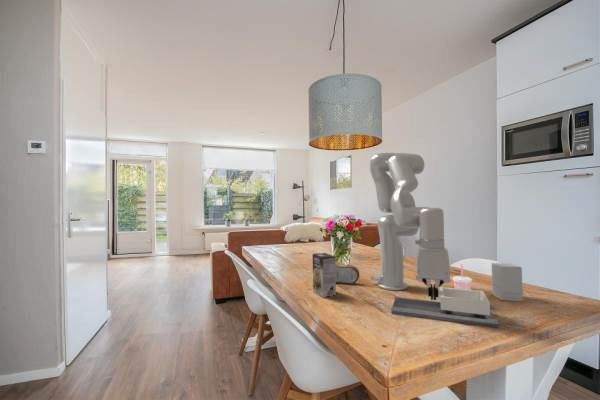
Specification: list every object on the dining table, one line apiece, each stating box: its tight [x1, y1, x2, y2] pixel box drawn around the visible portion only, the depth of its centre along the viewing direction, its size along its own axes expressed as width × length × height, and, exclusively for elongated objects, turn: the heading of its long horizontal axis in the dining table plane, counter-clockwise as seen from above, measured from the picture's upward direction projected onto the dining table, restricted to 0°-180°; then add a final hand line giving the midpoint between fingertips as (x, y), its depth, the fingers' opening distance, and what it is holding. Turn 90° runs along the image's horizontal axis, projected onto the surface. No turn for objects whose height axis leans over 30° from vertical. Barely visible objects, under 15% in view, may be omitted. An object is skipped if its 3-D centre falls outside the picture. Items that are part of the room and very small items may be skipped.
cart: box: [438, 286, 491, 318], centre depth 92 cm, size 13×11×6 cm
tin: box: [335, 263, 360, 285], centre depth 132 cm, size 15×3×8 cm, turn 71°
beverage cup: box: [452, 264, 473, 290], centre depth 104 cm, size 6×6×14 cm
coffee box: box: [312, 252, 337, 298], centre depth 117 cm, size 9×6×16 cm
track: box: [390, 296, 499, 329], centre depth 94 cm, size 30×12×2 cm, turn 66°
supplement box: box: [491, 262, 524, 302], centre depth 108 cm, size 7×7×13 cm
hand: (433, 298), depth 95 cm, fingers closed
